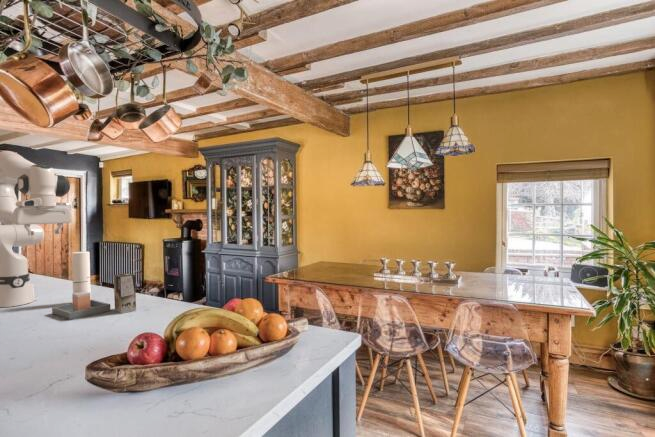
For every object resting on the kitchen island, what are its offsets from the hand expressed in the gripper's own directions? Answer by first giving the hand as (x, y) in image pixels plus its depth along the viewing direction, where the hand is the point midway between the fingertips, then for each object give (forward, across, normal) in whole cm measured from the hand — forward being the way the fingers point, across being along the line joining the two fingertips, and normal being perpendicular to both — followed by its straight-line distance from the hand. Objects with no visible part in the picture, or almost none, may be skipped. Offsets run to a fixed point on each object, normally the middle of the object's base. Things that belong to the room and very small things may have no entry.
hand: (44, 234), depth 154 cm
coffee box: (+35, -22, +22) cm, 47 cm away
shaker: (+34, -10, +8) cm, 37 cm away
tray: (+35, -10, +8) cm, 37 cm away
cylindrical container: (+35, -18, -10) cm, 41 cm away
